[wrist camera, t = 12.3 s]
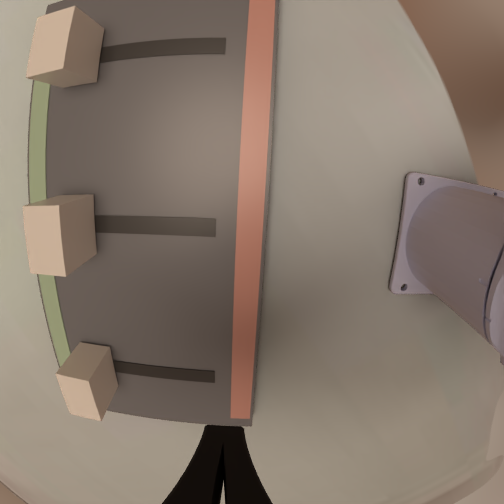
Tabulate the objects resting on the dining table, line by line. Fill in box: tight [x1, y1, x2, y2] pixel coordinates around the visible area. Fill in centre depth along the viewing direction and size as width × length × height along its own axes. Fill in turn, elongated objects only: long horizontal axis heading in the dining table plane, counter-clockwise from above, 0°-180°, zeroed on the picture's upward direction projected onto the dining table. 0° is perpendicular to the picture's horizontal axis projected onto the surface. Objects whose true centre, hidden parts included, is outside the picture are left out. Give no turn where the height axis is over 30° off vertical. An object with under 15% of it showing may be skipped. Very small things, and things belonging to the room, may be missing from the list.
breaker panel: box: [28, 0, 279, 426], centre depth 18 cm, size 15×30×2 cm, turn 177°
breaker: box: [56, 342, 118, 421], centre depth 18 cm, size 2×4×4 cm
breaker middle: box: [23, 194, 97, 277], centre depth 15 cm, size 2×4×4 cm
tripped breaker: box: [26, 6, 104, 88], centre depth 12 cm, size 2×4×4 cm
